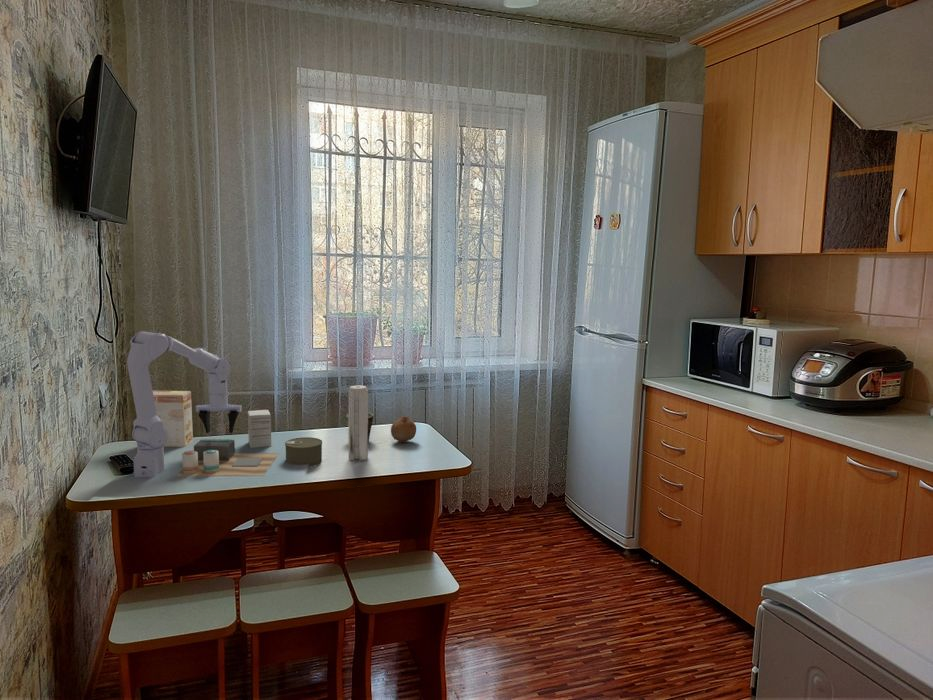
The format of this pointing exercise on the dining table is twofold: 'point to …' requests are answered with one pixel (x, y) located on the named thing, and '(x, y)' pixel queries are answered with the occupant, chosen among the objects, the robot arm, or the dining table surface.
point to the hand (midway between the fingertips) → (219, 432)
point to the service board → (230, 470)
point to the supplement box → (259, 428)
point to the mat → (247, 462)
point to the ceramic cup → (370, 420)
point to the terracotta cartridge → (190, 462)
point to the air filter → (358, 422)
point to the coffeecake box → (175, 416)
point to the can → (304, 451)
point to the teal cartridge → (211, 461)
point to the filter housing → (216, 448)
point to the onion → (403, 429)
